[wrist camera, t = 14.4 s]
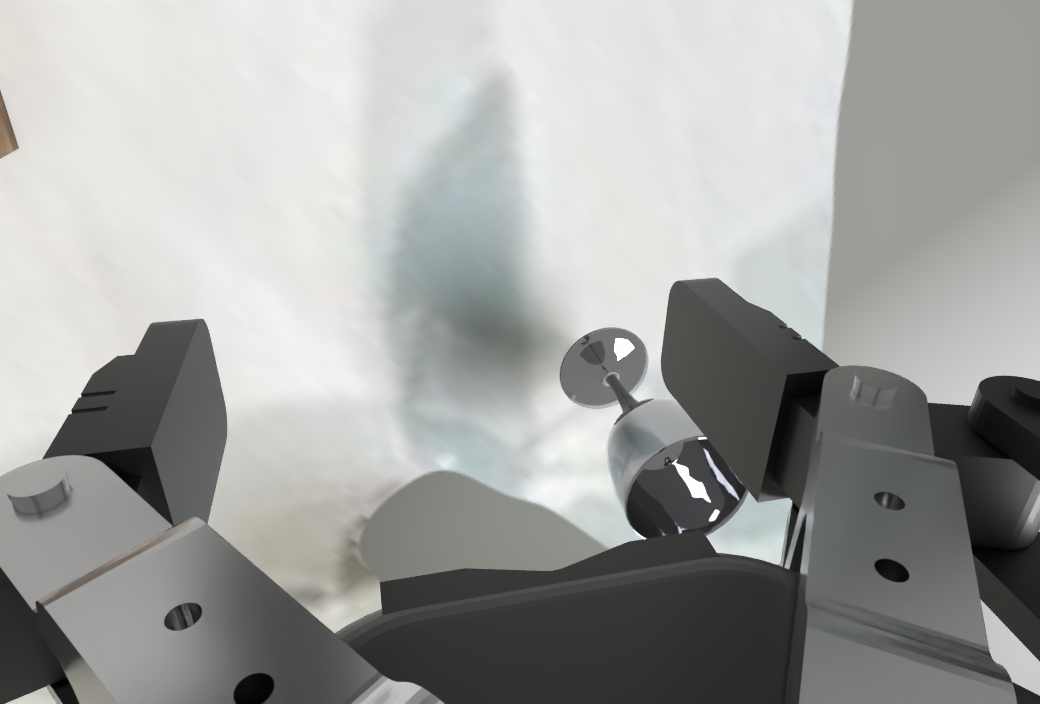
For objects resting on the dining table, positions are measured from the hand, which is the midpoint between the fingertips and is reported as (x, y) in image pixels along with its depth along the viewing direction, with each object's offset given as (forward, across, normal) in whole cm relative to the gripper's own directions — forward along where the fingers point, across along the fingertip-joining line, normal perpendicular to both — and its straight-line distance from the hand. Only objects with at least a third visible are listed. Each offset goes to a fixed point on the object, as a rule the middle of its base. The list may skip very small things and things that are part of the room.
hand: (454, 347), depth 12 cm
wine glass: (+33, -16, +21) cm, 42 cm away
